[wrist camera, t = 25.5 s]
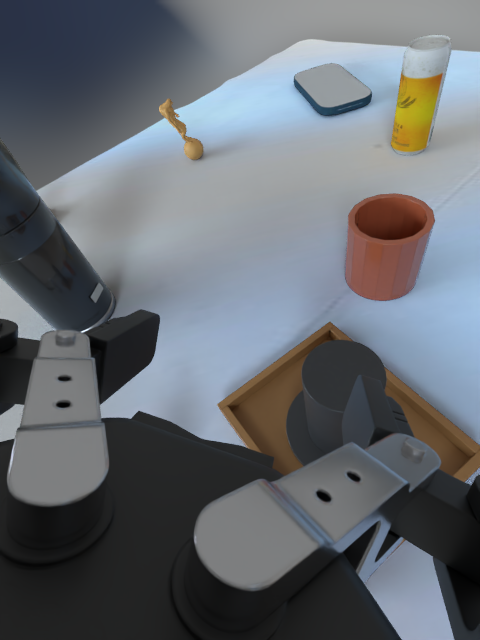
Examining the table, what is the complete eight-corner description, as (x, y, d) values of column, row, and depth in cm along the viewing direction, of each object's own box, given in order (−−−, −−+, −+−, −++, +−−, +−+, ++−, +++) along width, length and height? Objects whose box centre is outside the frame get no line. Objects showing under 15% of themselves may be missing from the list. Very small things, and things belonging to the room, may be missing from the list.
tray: (221, 412, 37) (216, 404, 36) (329, 331, 41) (329, 321, 39) (349, 592, 26) (351, 593, 25) (482, 462, 30) (491, 455, 28)
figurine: (208, 165, 70) (189, 100, 61) (179, 173, 71) (157, 110, 61) (203, 147, 75) (185, 85, 66) (177, 154, 76) (155, 94, 66)
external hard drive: (290, 83, 87) (290, 74, 85) (335, 70, 86) (335, 60, 85) (322, 121, 72) (322, 110, 70) (376, 104, 71) (377, 94, 70)
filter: (268, 425, 35) (246, 366, 25) (339, 370, 37) (343, 297, 27) (336, 512, 29) (341, 478, 20) (416, 442, 31) (454, 381, 22)
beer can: (392, 138, 63) (407, 37, 51) (429, 138, 61) (454, 31, 49) (388, 157, 60) (403, 52, 48) (427, 156, 57) (453, 47, 46)
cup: (331, 275, 46) (331, 220, 39) (377, 243, 48) (386, 184, 41) (382, 312, 41) (394, 256, 34) (432, 274, 43) (453, 214, 36)
